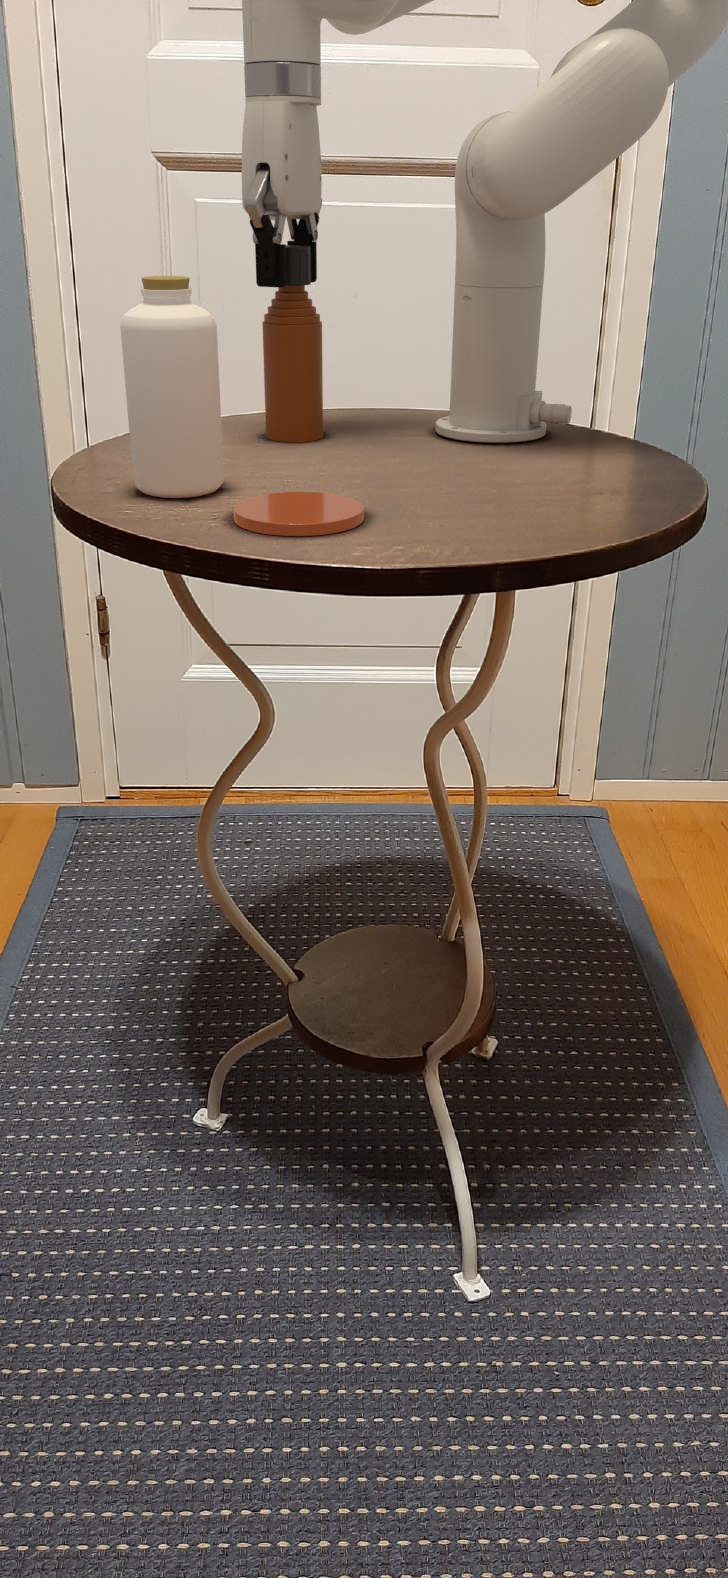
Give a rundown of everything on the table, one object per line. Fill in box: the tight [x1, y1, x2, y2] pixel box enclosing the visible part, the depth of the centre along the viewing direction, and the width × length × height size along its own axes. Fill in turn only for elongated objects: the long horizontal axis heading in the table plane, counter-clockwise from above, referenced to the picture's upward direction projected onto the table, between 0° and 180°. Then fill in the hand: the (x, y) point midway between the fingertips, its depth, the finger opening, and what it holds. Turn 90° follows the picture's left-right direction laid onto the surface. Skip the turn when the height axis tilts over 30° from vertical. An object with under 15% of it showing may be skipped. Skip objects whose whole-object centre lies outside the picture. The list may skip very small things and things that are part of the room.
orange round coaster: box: [232, 491, 365, 537], centre depth 97 cm, size 11×11×1 cm
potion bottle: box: [120, 275, 225, 499], centre depth 102 cm, size 8×8×18 cm
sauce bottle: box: [261, 285, 324, 443], centre depth 125 cm, size 6×6×18 cm
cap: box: [286, 244, 312, 286], centre depth 121 cm, size 4×4×4 cm
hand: (287, 282), depth 122 cm, fingers open, 6 cm apart
